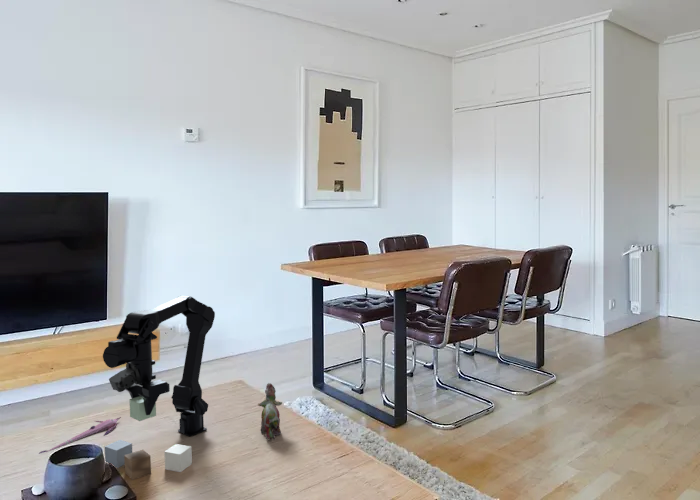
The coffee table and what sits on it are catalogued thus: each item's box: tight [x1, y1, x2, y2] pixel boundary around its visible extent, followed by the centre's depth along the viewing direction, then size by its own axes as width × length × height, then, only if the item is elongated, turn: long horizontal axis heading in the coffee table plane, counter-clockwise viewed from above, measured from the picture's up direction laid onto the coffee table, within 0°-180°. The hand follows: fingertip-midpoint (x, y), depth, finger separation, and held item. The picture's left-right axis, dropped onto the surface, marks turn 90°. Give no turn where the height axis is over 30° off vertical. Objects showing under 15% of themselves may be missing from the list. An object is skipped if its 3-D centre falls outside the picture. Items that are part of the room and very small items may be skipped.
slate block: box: [104, 439, 133, 469], centre depth 154 cm, size 5×5×5 cm
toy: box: [38, 416, 122, 455], centre depth 171 cm, size 28×2×10 cm
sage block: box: [129, 396, 157, 422], centre depth 155 cm, size 5×5×5 cm
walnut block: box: [124, 449, 152, 481], centre depth 147 cm, size 5×5×5 cm
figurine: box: [257, 382, 283, 440], centre depth 172 cm, size 8×12×15 cm, turn 174°
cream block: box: [163, 443, 193, 473], centre depth 151 cm, size 5×5×5 cm
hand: (143, 412), depth 155 cm, fingers closed on sage block, 5 cm apart
